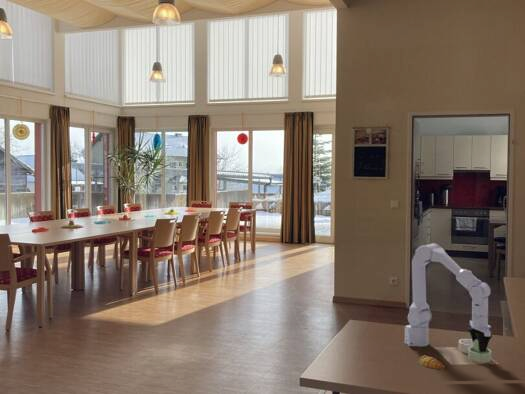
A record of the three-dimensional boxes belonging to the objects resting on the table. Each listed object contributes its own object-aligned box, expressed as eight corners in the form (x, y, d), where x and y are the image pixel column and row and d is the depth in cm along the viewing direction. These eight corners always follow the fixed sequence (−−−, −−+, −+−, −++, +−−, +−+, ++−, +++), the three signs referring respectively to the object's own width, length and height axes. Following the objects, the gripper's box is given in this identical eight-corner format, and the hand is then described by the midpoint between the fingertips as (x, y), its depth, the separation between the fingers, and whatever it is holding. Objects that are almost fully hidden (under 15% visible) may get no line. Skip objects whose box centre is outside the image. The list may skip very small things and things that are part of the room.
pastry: (448, 370, 196) (448, 360, 196) (437, 374, 192) (437, 364, 192) (427, 362, 204) (427, 353, 204) (416, 366, 200) (416, 356, 200)
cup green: (473, 363, 200) (473, 354, 200) (464, 355, 208) (464, 346, 208) (494, 362, 200) (494, 353, 200) (485, 355, 208) (485, 346, 208)
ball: (475, 353, 201) (475, 341, 201) (470, 349, 206) (470, 337, 206) (488, 353, 201) (488, 340, 201) (483, 349, 206) (483, 336, 206)
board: (451, 367, 198) (451, 364, 198) (434, 349, 218) (434, 347, 218) (498, 366, 198) (498, 364, 198) (477, 349, 218) (477, 346, 218)
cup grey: (463, 354, 209) (463, 345, 209) (455, 347, 217) (455, 339, 217) (483, 353, 209) (484, 345, 209) (475, 347, 217) (475, 338, 217)
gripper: (498, 319, 196) (498, 355, 196) (482, 309, 210) (481, 342, 211) (480, 320, 196) (479, 355, 196) (464, 309, 210) (464, 343, 211)
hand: (479, 349), depth 204 cm, fingers closed on ball, 5 cm apart
